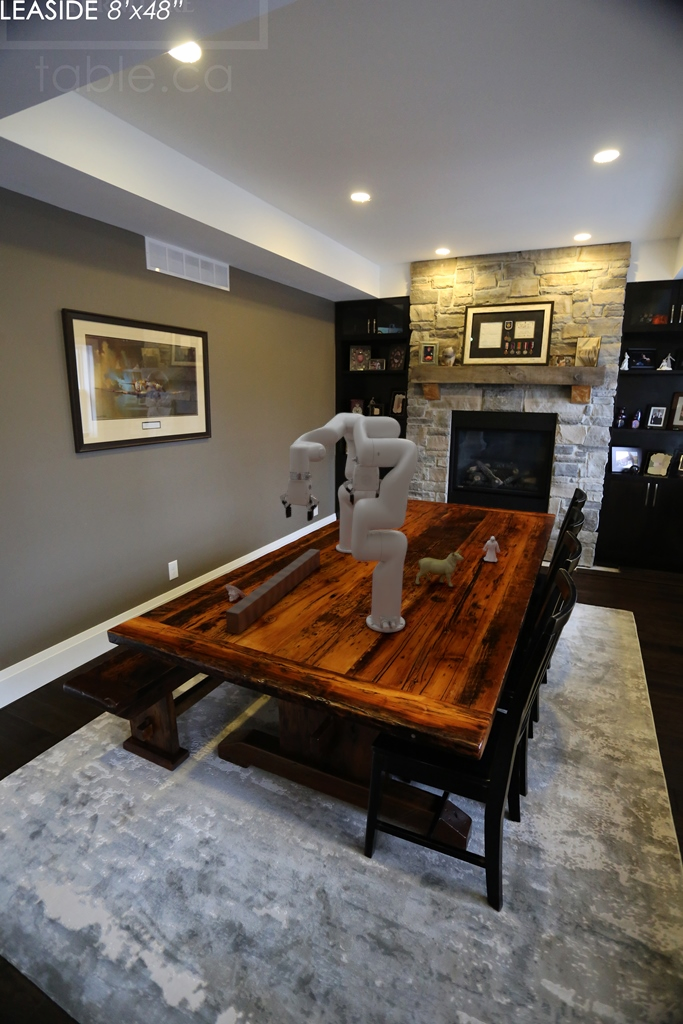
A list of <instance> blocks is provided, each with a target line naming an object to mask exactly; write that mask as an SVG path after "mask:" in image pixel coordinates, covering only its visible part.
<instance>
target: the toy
mask: <svg viewBox="0 0 683 1024" xmlns="http://www.w3.org/2000/svg"><path fill="white" fill-rule="evenodd" d="M461 553H462V550H457V551H454V552H451V553H449V554H448V556H447V557H446V558H445V559H437V558H433V557H424V558H421V559H419V560H418V568H419V572H416V573H417V574H416V578H415V582H414V583H415V585H416V586H420V578H421V577H422V576H423V577H425V578H426V581H427V582H431V577H430V576H429V575H428V573H430V574H431V575H434V576H440V575H441V576H440V579H439V583H440V584H444V578H446V581H447V584H448V587H449V588H454V585H453V584H452V582H451V580H452V579H451V577H452V575H453V573H454V572H455V570H456V567H457V562H458V561H459V562H463V561H464V560H465V558H464V557H463V556H462V555H460V554H461Z"/></svg>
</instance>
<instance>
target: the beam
mask: <svg viewBox="0 0 683 1024" xmlns="http://www.w3.org/2000/svg"><path fill="white" fill-rule="evenodd" d="M320 566H321V549H314V548H310V549H308V550H307V551H305V552H304V553H303V554H301V555H300V556H299V557H297V558H296V559H294V560H293V561H292V562H291V563H289V564H288V565H286V566H285V567H284V568H283V569H281V570H279V571H278V572H277V573H276V574H274V575H273V576H271V577H270V578H269V579H268V580H266V581H265V582H263V583H262V584H261V585H259V586H258V587H256V588H255V589H253V590H252V591H251V592H250V593H248V595H246V597H245V598H244V597H242V599H240V600H239V601H238V602H237V603H235V604H233V606H231V607H230V608H229V609H227V610H226V611H225V623H226V624H225V626H226V627H225V628H226V632H227V633H231V634H235V635H240V634H241V633H242V632H244V631H245V630H246V629H247V628H248V627H249V626H251V625H252V624H253V623H254V622H255V621H257V620H258V619H259V618H260V617H261V616H262V615H264V614H265V613H266V612H267V611H269V609H270V608H272V607H273V606H274V605H275V604H277V603H278V602H279V601H280V600H281V599H282V598H284V596H286V595H287V594H288V593H289V592H291V591H292V590H293V589H294V588H295V587H296V586H297V585H299V584H300V583H301V582H302V581H303V580H305V579H306V578H307V577H308V576H309V575H310V574H312V573H313V572H314V571H315V570H316V569H318V567H320Z"/></svg>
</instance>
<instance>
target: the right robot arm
mask: <svg viewBox="0 0 683 1024" xmlns="http://www.w3.org/2000/svg"><path fill="white" fill-rule="evenodd" d="M353 435H354V442H355V447H356V457H355V458H353V459H352V460H353V461H354V462H356V464H354V469H353V477H352V479H350V480H349V479H347V480H346V481H344V482H343V483H342V485H344V487H345V489H346V491H347V492H348V493H349V494H350V502H351V504H352V505H354V494H353V493H354V492H355V491H356V490H357V491H376V495H375V498H365V499H360V500H359V501H357V502H356V504H355V507H354V511H353V523H352V538H351V553H350V554H351V556H352V558H353V559H354V560H355V561H358V562H378V563H376V565H375V566H374V569H373V571H372V585H371V586H372V587H371V607H370V609H371V613H370V615H368V616H367V617H366V621H365V622H366V623H365V624H366V625H367V627H368V628H369V629H372V630H373V631H376V632H379V633H396V632H398V631H402V630H403V629H404V628H405V626H406V620H405V618H403V617H402V615H401V614H402V599H403V598H402V597H403V580H404V578H403V577H404V567H405V559H406V555H407V551H408V538H407V536H406V535H405V533H404V532H402V531H401V530H397V529H401V528H402V527H403V526H404V524H405V522H406V516H407V510H408V509H407V508H408V500H409V499H408V498H409V489H410V486H411V482H412V480H413V478H414V476H415V472H416V469H417V467H418V462H419V461H418V460H419V450H418V447H417V444H416V443H415V442H414V441H412V440H410V439H407V438H399V437H400V435H401V425H400V423H399V421H397V420H396V419H395V418H393V417H391V416H390V417H389V416H365V417H360V418H359V419H357V421H356V422H355V425H354V429H353ZM378 468H392V469H391V470H390V471H389V472H388V473H387V474H386V475H385V476H384V477H383V479H380V470H379V471H378ZM350 483H352V487H353V488H352V489H351V490H350V489H349V488H348V486H347V485H348V484H350Z"/></svg>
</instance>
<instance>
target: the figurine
mask: <svg viewBox="0 0 683 1024" xmlns="http://www.w3.org/2000/svg"><path fill="white" fill-rule="evenodd" d="M482 551H483V552H486V554H485V556H484V557H483V560H484V561H485V562H495V563H498V558H497V554H496V553H498V554H499V553H501V550H500V547H499V543H498V541H497V540H496V538H495V536H493V535H492V536H490V539H489V540H487V542H486V543H485V544H484V546H483V548H482Z"/></svg>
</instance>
